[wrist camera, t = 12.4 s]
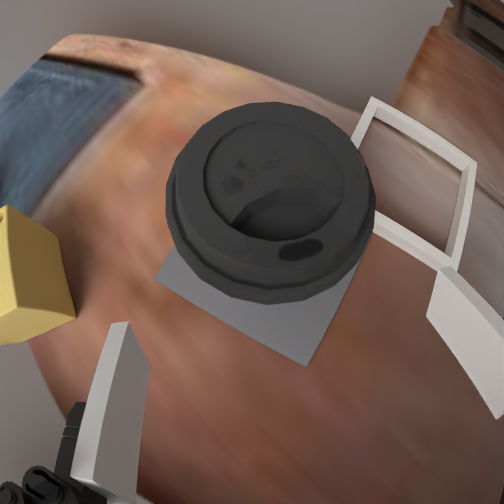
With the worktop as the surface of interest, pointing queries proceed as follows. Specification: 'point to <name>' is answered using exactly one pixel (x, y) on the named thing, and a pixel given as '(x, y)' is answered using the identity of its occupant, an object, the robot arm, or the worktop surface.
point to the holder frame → (464, 200)
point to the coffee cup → (270, 203)
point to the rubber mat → (260, 310)
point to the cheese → (30, 279)
